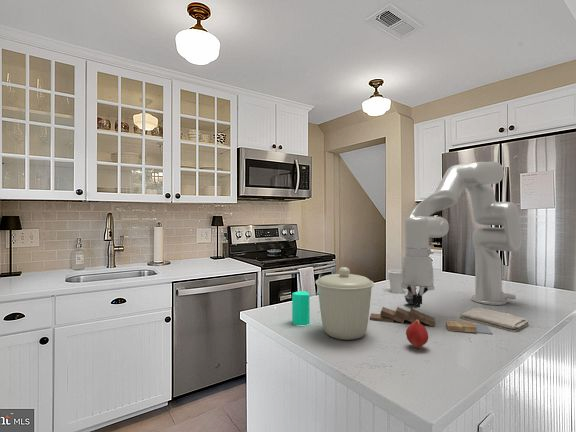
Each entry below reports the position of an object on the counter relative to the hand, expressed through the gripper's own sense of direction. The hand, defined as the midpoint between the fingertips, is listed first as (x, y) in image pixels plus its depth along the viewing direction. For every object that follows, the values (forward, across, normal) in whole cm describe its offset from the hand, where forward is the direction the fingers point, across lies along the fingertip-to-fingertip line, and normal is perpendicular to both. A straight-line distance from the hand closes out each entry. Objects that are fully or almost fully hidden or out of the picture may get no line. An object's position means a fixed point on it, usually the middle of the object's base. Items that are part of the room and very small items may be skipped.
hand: (417, 305), depth 108 cm
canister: (+6, +22, +18) cm, 29 cm away
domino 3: (+5, -1, 0) cm, 5 cm away
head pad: (+6, -18, 0) cm, 19 cm away
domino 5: (+5, -17, +2) cm, 18 cm away
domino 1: (+6, +8, 0) cm, 10 cm away
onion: (+6, +1, +22) cm, 23 cm away
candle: (+6, +38, +13) cm, 41 cm away
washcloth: (+7, -25, -10) cm, 27 cm away
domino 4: (+5, -5, 0) cm, 7 cm away
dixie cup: (+6, +7, -44) cm, 45 cm away
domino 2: (+5, +4, 0) cm, 7 cm away
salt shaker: (+6, +1, -21) cm, 22 cm away
